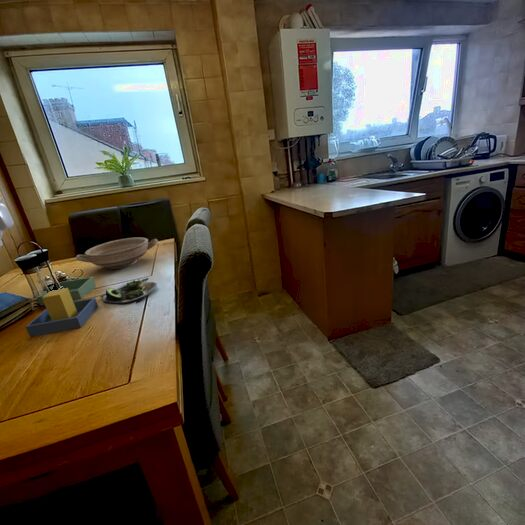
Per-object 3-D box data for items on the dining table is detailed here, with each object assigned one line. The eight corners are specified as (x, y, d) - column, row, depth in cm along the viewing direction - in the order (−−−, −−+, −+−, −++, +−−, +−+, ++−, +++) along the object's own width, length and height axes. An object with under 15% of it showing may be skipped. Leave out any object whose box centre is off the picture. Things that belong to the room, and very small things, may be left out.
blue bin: (31, 339, 81) (25, 326, 80) (55, 316, 94) (50, 305, 92) (82, 329, 83) (77, 317, 81) (99, 308, 95) (95, 297, 94)
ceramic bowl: (158, 249, 160) (154, 232, 156) (164, 262, 135) (159, 242, 132) (86, 265, 146) (79, 247, 143) (77, 283, 122) (69, 262, 118)
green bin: (41, 307, 102) (36, 297, 101) (59, 292, 114) (56, 282, 113) (81, 300, 104) (77, 290, 102) (96, 286, 116) (92, 276, 114)
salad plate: (133, 281, 116) (130, 271, 114) (168, 282, 110) (166, 272, 108) (94, 304, 99) (89, 293, 97) (133, 307, 93) (130, 295, 91)
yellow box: (54, 326, 85) (41, 297, 82) (62, 318, 90) (50, 290, 87) (71, 323, 86) (59, 294, 83) (78, 315, 91) (67, 287, 87)
